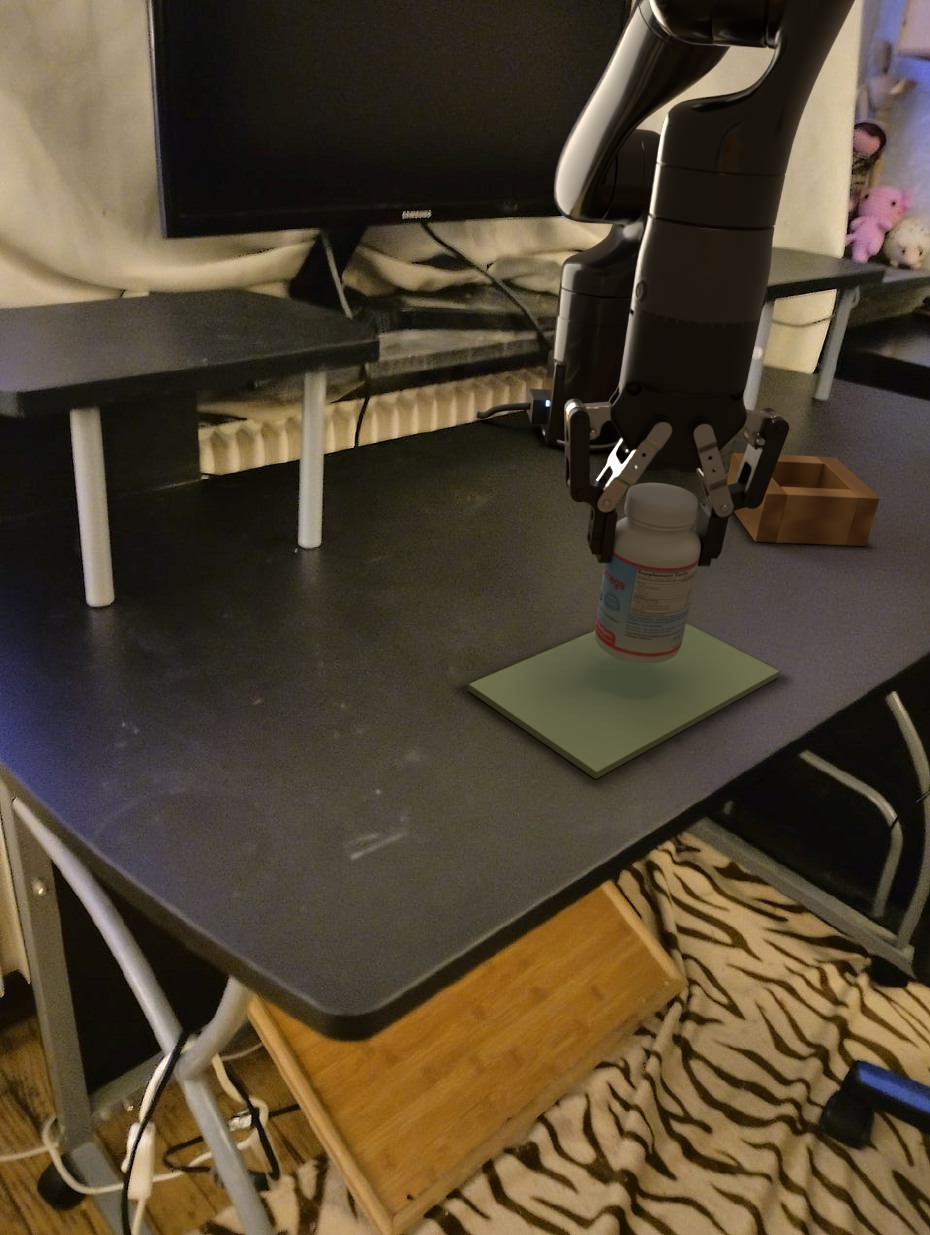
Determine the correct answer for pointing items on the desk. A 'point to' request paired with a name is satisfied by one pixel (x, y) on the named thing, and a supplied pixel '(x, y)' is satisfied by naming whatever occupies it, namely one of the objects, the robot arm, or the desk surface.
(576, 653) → the mat
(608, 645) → the pill bottle
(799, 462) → the stand
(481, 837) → the desk surface
